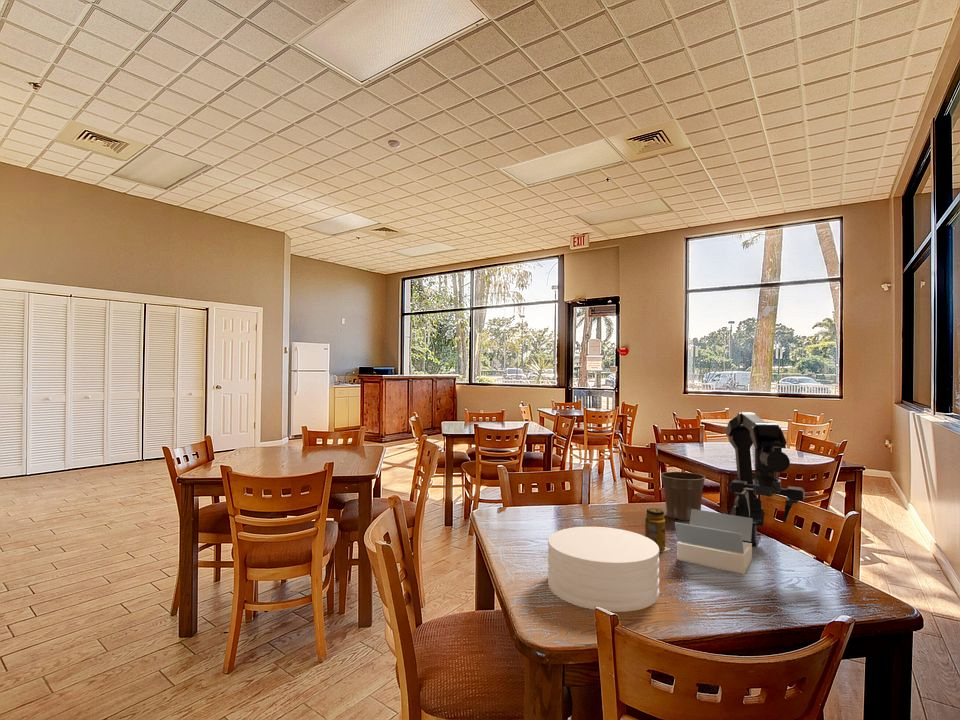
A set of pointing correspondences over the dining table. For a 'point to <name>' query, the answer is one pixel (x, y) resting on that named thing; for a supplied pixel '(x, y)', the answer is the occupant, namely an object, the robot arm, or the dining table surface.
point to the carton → (715, 557)
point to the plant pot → (682, 493)
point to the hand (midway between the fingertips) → (766, 519)
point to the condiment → (656, 527)
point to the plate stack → (603, 568)
